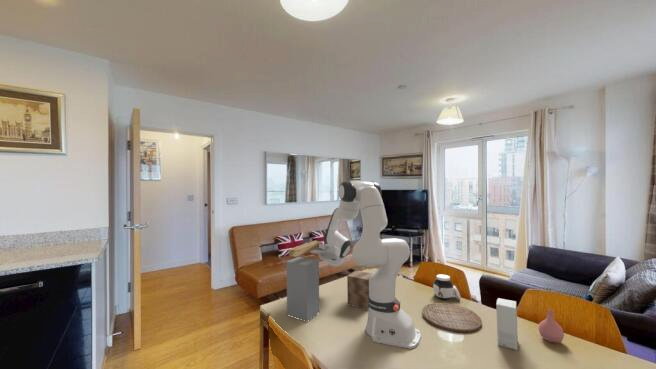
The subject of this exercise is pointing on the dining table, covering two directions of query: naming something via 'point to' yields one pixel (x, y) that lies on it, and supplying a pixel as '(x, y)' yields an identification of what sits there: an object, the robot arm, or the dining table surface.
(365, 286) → the walnut block
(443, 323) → the trivet
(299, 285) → the tall stand
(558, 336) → the pink teardrop-shaped piece
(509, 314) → the skincare box
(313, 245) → the oak bar
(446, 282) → the spread jar
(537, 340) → the dining table surface
